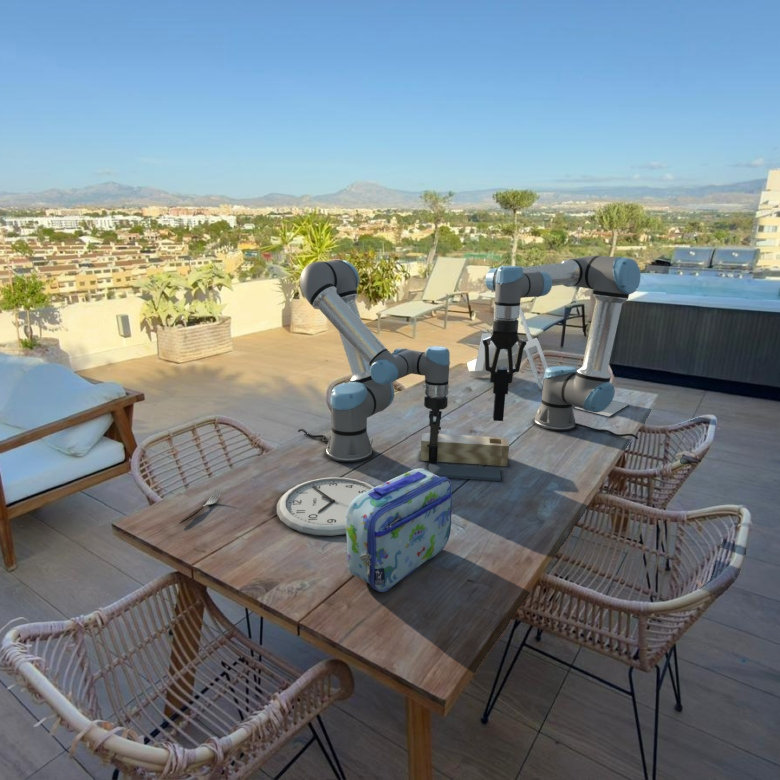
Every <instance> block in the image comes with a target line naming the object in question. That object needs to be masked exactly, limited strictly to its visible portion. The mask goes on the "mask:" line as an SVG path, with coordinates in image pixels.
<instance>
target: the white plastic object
mask: <svg viewBox="0 0 780 780" xmlns="http://www.w3.org/2000/svg"><path fill="white" fill-rule="evenodd" d="M519 318H520V319H521V323H522V326H523V328H524V329H523V330H524V332H525V335H526V338H527V341H526V345H525V347H524V349H523V354H522V359H521V361H523V360H525V359H526V357H527V360H528V363H529V367H530V369H531V372H532V375H533V379H534V382H535V384H536V385H537V386H538V388H539V389H540V390H543V385H542V382H541V380H540V377H539V374H538V371H537V368H536V365H535V361H534V358H533V355H532V354H535V353H537V352H538V355H539V358H540V360H541V364H542V367H543V369H544V371H545V370H546V369H547V368H549V366H548V363H547V359H546V357H545V354H544V352H543V351H544V350H543V348H542V346H541V343H540V340H539V339H538V338H537V337H535V338H533V337H532V334H531V331H530V328H529V325H528V322H527V319H526V316H525V313H524V312H523V309H522V307H520V310H519ZM491 334H492V333H490V332H489V333H487V332H486V333H481V336H480V337H481V338H480V342H479V346H478V347H479V348H478V351H477V355H476V358H475V359H473V360H470V361H468V362H466V365H467V369H468V373H469V374H470V375H471V376H472V377H473V378H476V377H483V376H490V372H489V371H486V369H485V346H484V344H483V341H482V340H483V339H484V338H485V339H486V338H489V337H490V336H491ZM488 346H489V366H490V367H491V366H492V361H493V357H494V353H495V348H496V346H495V345H494V343H493V342H492V340H491V341H490V345H488ZM518 347H519V346H518V341H517V342H516V343H515V345H514V346H513V347H512V361H513V367H515V363H516V358H517V352H518ZM497 367H507V372H509V368H508V356H507V349H501V350H500V353H499V357H498V361H497V366H496V370H495V371H497Z"/></svg>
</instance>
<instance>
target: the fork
mask: <svg viewBox="0 0 780 780" xmlns="http://www.w3.org/2000/svg"><path fill="white" fill-rule="evenodd" d="M222 493H223V491H221V490H219V489H217V490H216V489H215V490H214V492H213V493H212V495H211V496H210V498H209V499H208V500H207V501H206V502H205V504H203V505H202V506H200V507H198V508H196V509H194V510H192V512H191V513H189V514H188V515H187V516H186V517H185V518H183V519H182V520H181V521H180V522H179V523H178V525H180V524H182V523H184V522H186V521H187V520H189V519H191V518H192V517H194V516H195V515H197V514H198V513H199V512H201V511H202V510H203V509H204V508H205V507H206V506H210V505H215V504H216V503H217V502H218V500H219V498H220V497H221V495H222Z"/></svg>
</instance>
